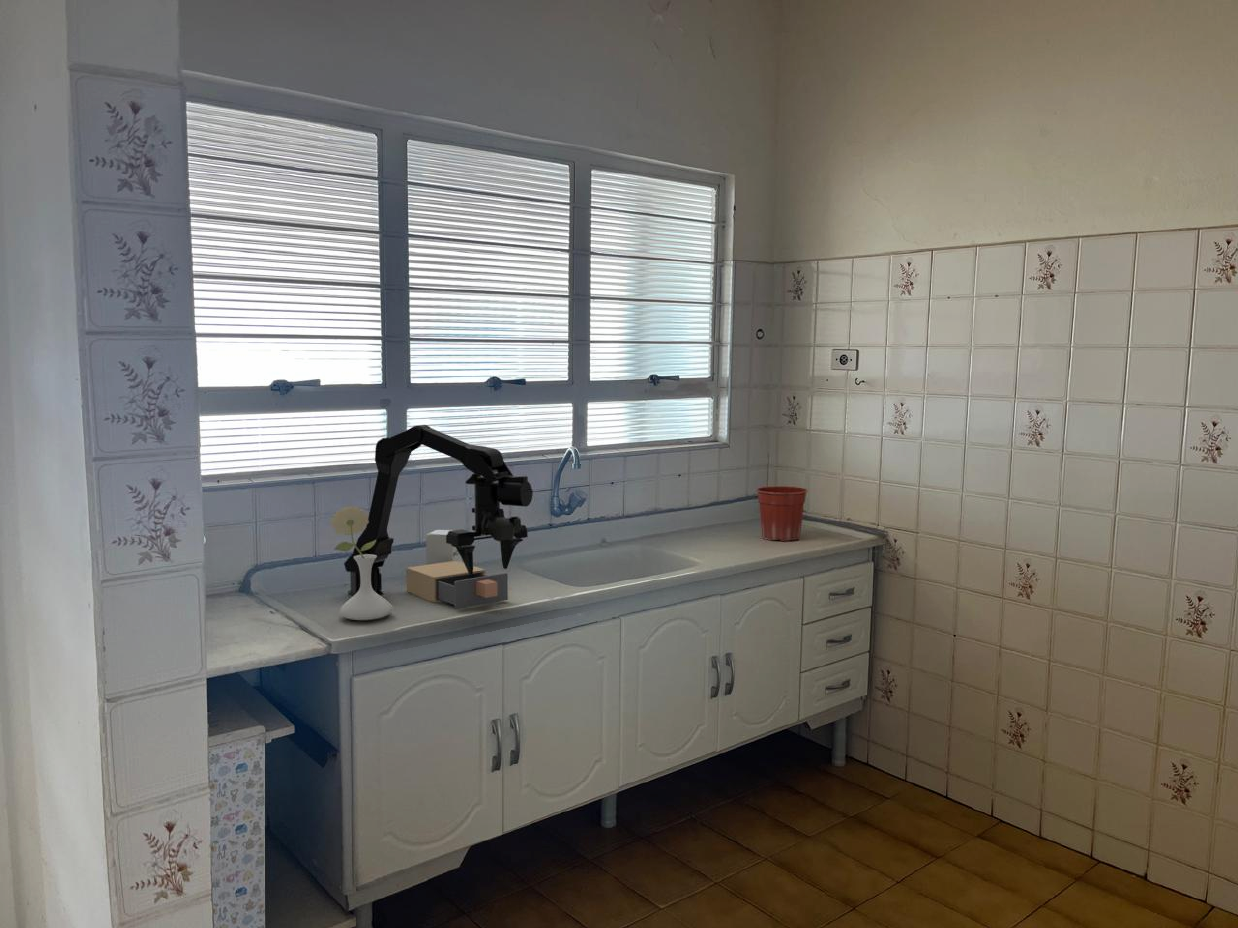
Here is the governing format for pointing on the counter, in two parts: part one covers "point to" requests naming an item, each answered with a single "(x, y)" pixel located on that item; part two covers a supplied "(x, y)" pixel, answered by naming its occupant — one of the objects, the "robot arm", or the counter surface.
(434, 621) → the counter surface
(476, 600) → the tray
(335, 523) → the flower in vase
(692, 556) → the counter surface
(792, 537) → the flower pot
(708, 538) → the counter surface
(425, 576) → the sleeve
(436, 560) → the supplement box
